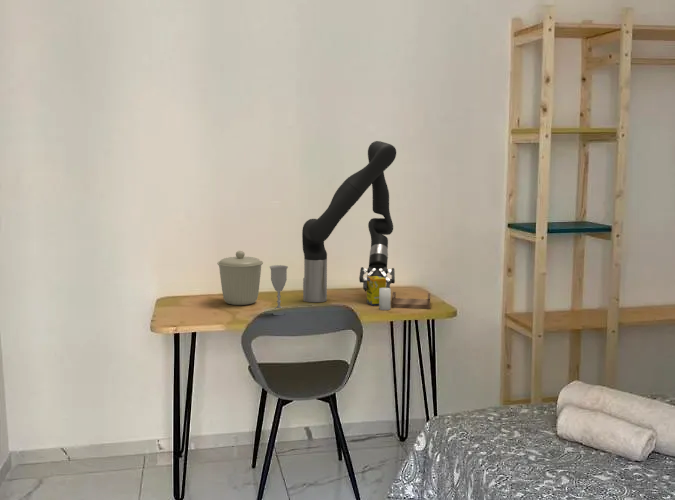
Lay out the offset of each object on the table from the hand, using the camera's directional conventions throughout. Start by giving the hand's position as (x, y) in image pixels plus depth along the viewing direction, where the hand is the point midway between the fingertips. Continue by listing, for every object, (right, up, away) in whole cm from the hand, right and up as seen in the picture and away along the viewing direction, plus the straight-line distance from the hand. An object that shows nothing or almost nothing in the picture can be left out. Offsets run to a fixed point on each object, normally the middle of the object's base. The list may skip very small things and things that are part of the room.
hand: (376, 290), depth 303 cm
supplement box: (0, -6, +2) cm, 6 cm away
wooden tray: (+14, -6, 0) cm, 15 cm away
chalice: (-38, -8, -17) cm, 42 cm away
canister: (-54, -5, +2) cm, 55 cm away
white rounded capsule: (+3, -7, -7) cm, 10 cm away
